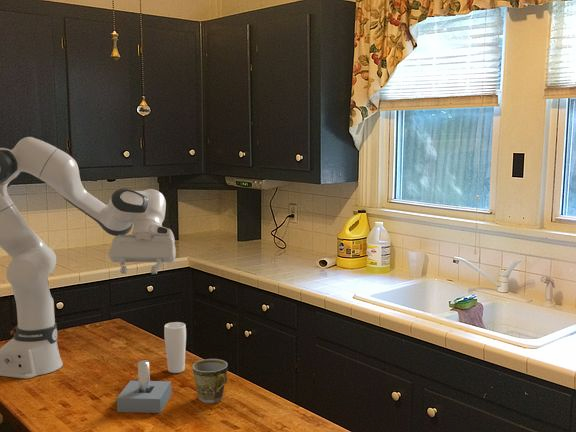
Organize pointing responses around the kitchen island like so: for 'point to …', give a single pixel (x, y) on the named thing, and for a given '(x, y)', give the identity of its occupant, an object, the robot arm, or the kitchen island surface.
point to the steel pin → (144, 376)
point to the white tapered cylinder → (175, 346)
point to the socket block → (144, 397)
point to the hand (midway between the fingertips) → (138, 272)
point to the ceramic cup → (210, 379)
